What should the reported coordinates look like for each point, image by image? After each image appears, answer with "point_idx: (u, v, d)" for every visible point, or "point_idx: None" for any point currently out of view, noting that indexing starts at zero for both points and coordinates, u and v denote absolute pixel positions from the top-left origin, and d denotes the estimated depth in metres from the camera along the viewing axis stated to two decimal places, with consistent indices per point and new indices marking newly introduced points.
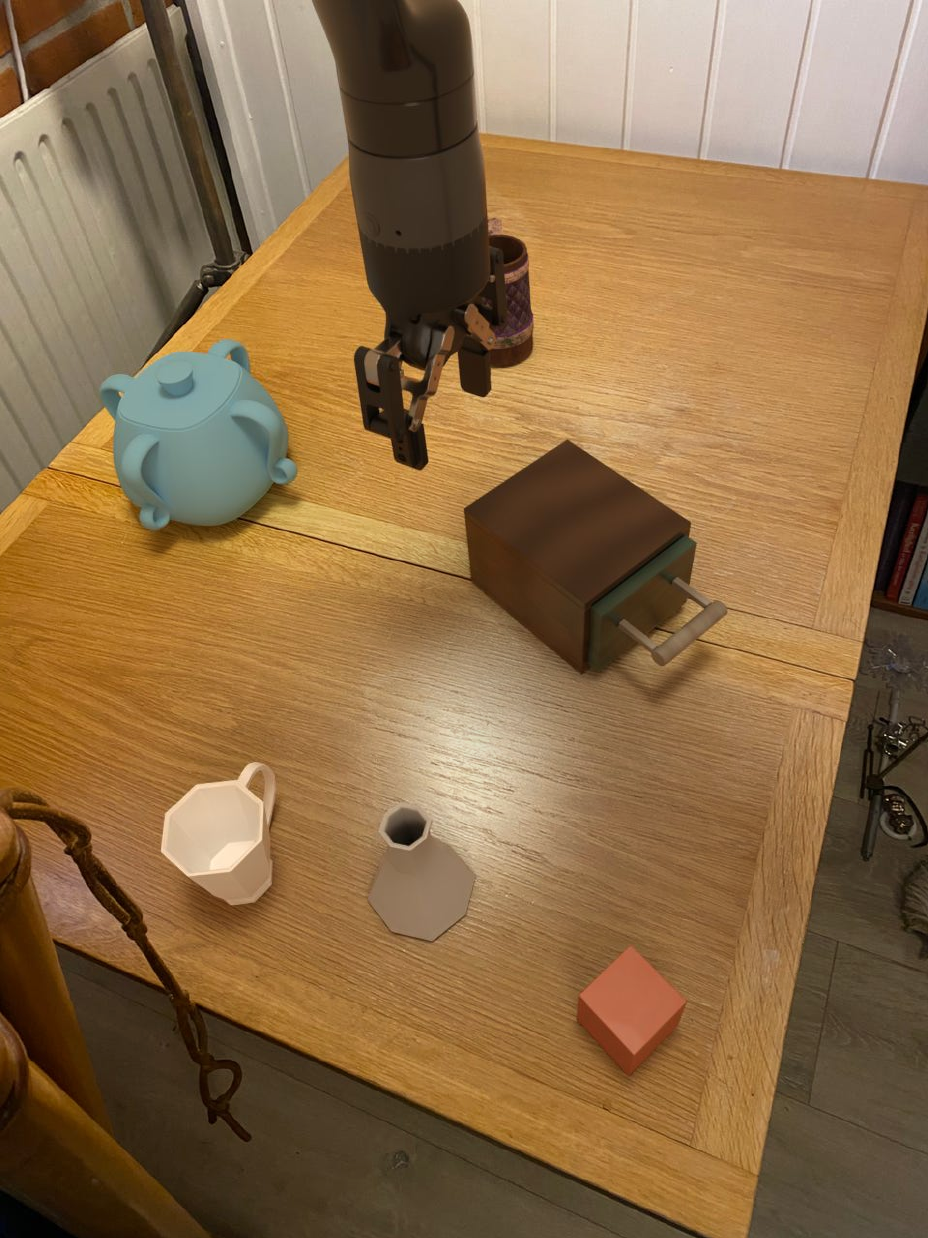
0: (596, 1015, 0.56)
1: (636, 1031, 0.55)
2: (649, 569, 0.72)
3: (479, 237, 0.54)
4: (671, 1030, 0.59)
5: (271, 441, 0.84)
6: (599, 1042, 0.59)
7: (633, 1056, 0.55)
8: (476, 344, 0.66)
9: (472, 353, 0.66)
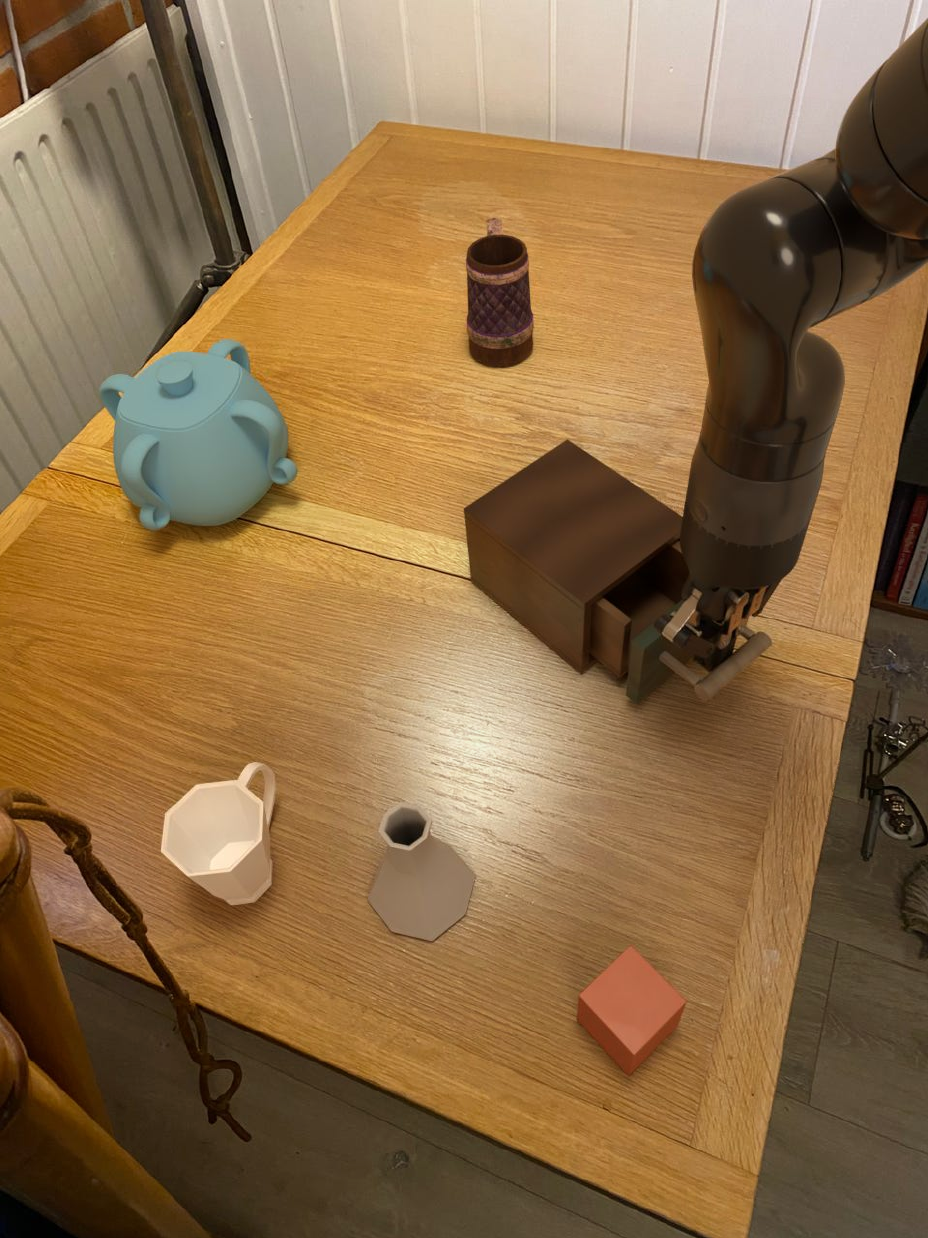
0: (596, 1015, 0.56)
1: (636, 1031, 0.55)
2: None
3: (798, 539, 0.57)
4: (671, 1030, 0.59)
5: (271, 441, 0.84)
6: (599, 1042, 0.59)
7: (633, 1056, 0.55)
8: None
9: None
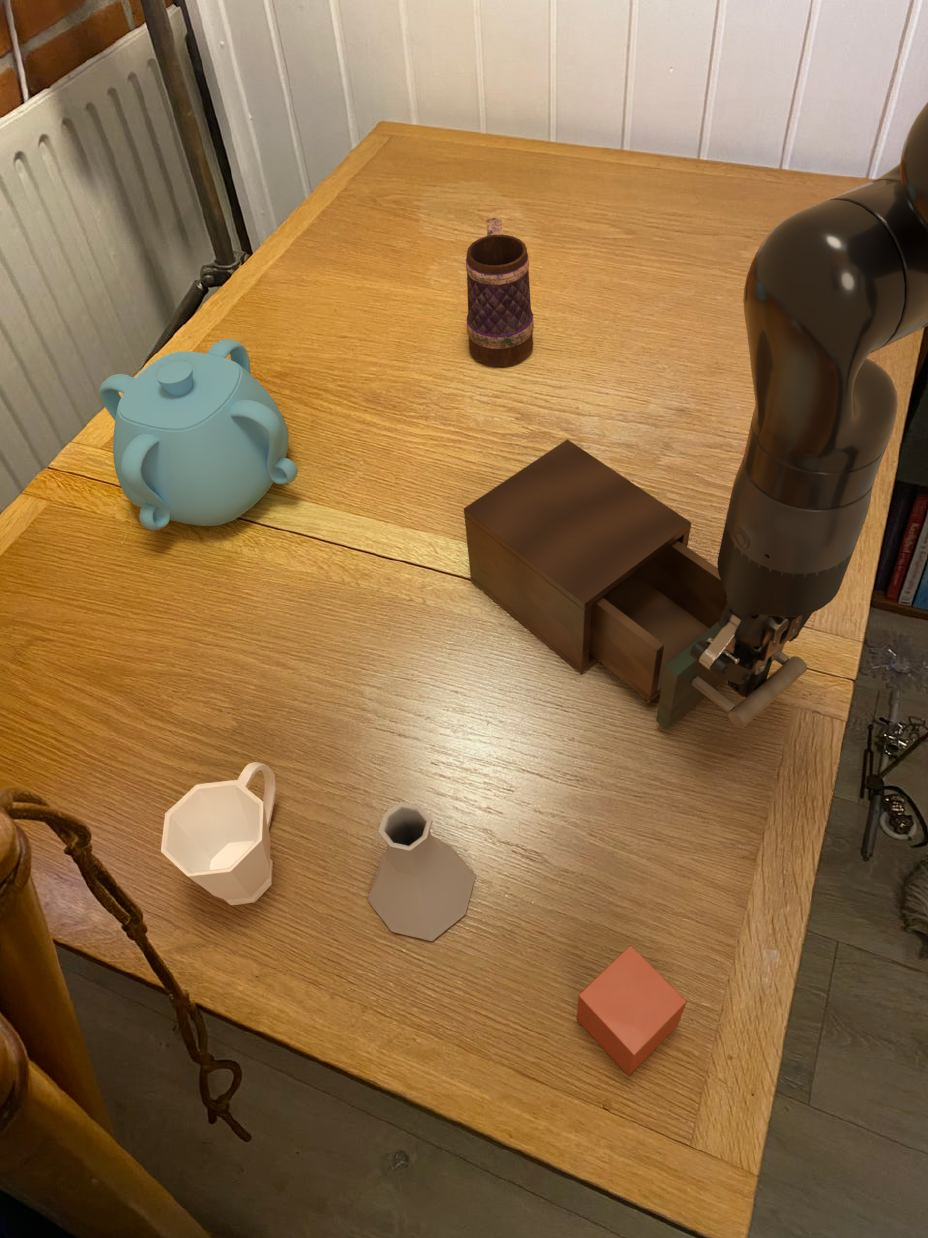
0: (596, 1015, 0.56)
1: (636, 1031, 0.55)
2: None
3: (843, 567, 0.55)
4: (671, 1030, 0.59)
5: (271, 441, 0.84)
6: (599, 1042, 0.59)
7: (633, 1056, 0.55)
8: None
9: None
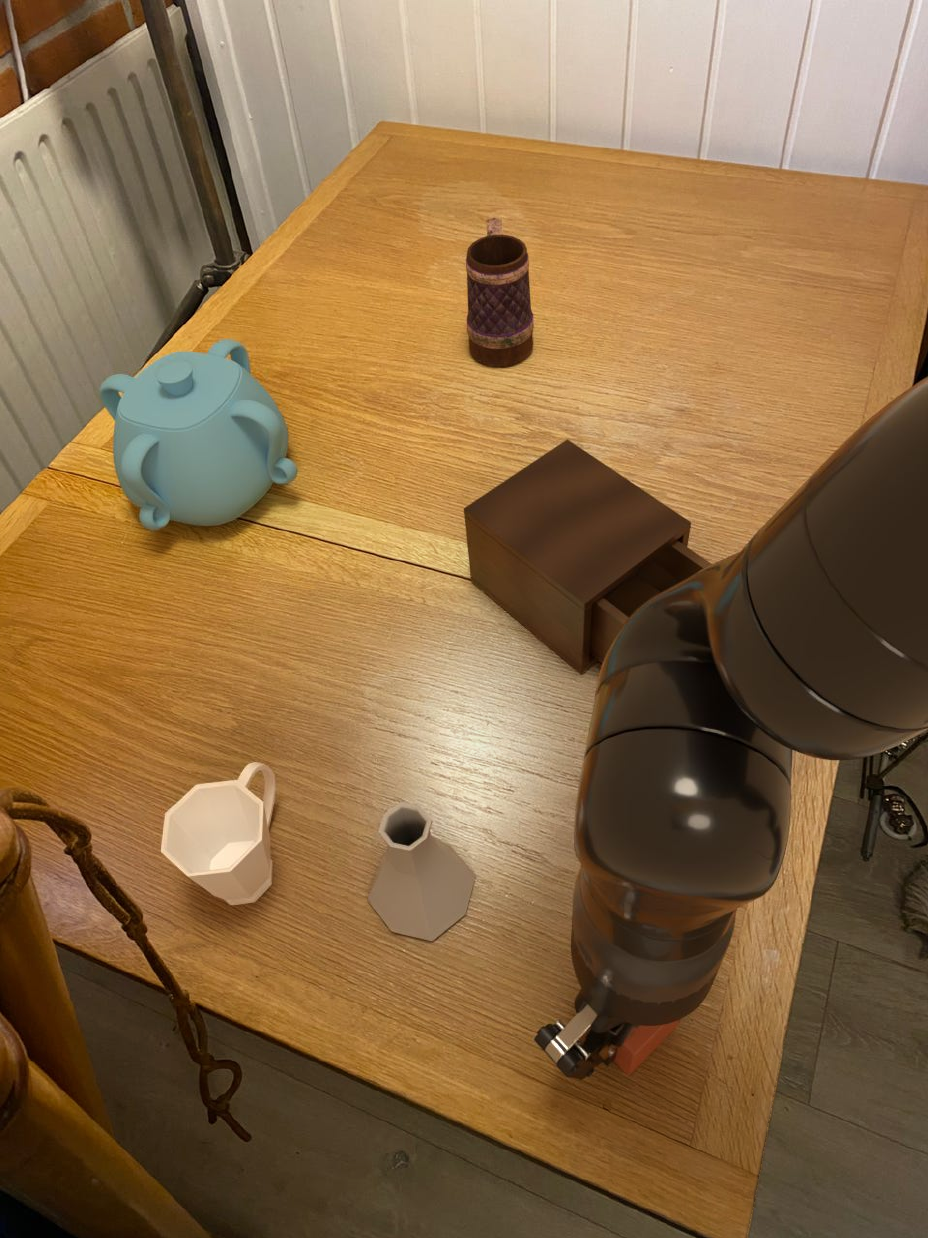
0: None
1: None
2: None
3: (707, 985, 0.45)
4: (671, 1030, 0.59)
5: (271, 441, 0.84)
6: None
7: (633, 1056, 0.55)
8: None
9: None
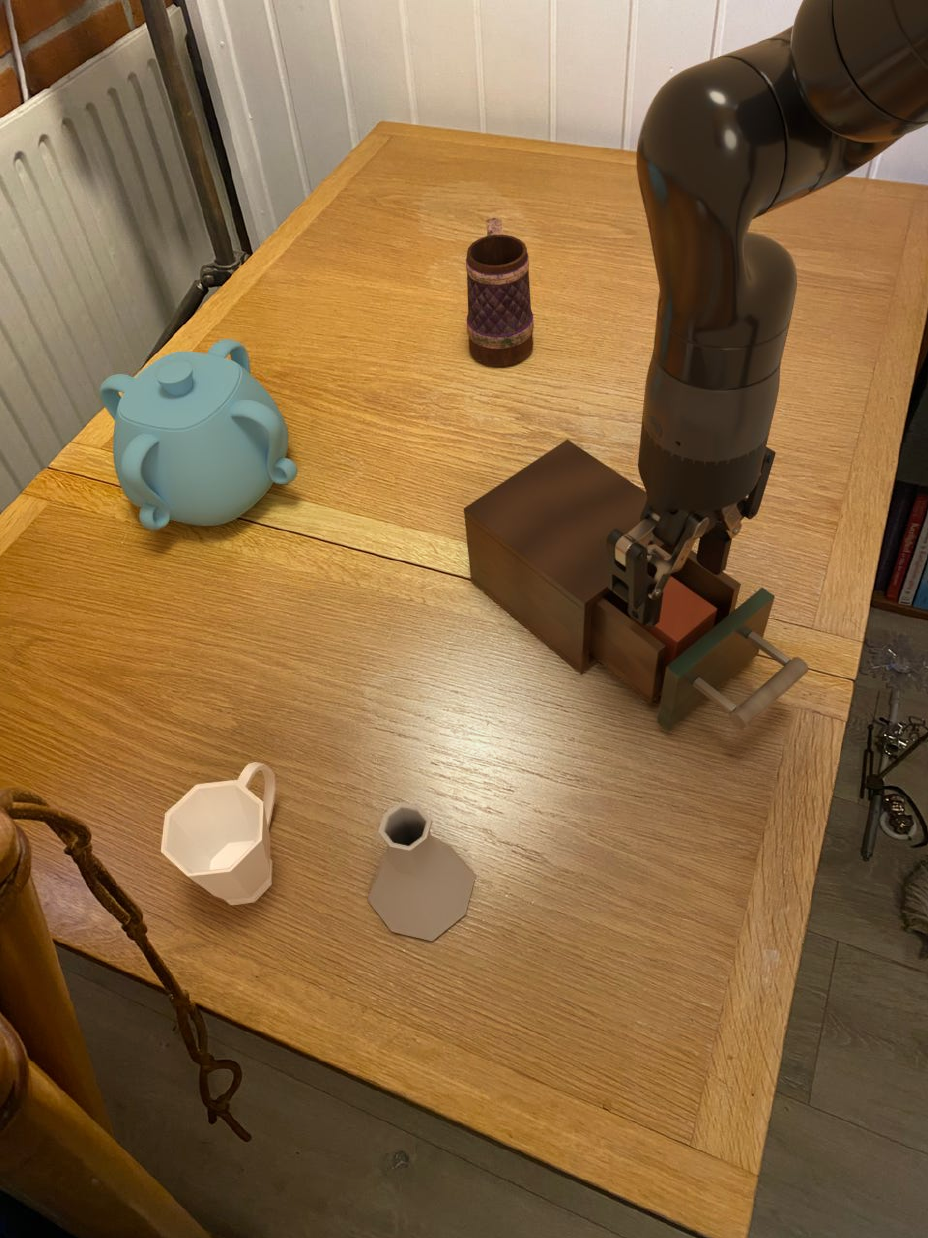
0: None
1: (678, 627, 0.70)
2: (726, 625, 0.68)
3: (755, 456, 0.56)
4: None
5: (271, 441, 0.84)
6: None
7: (676, 644, 0.70)
8: (720, 531, 0.67)
9: (714, 537, 0.68)
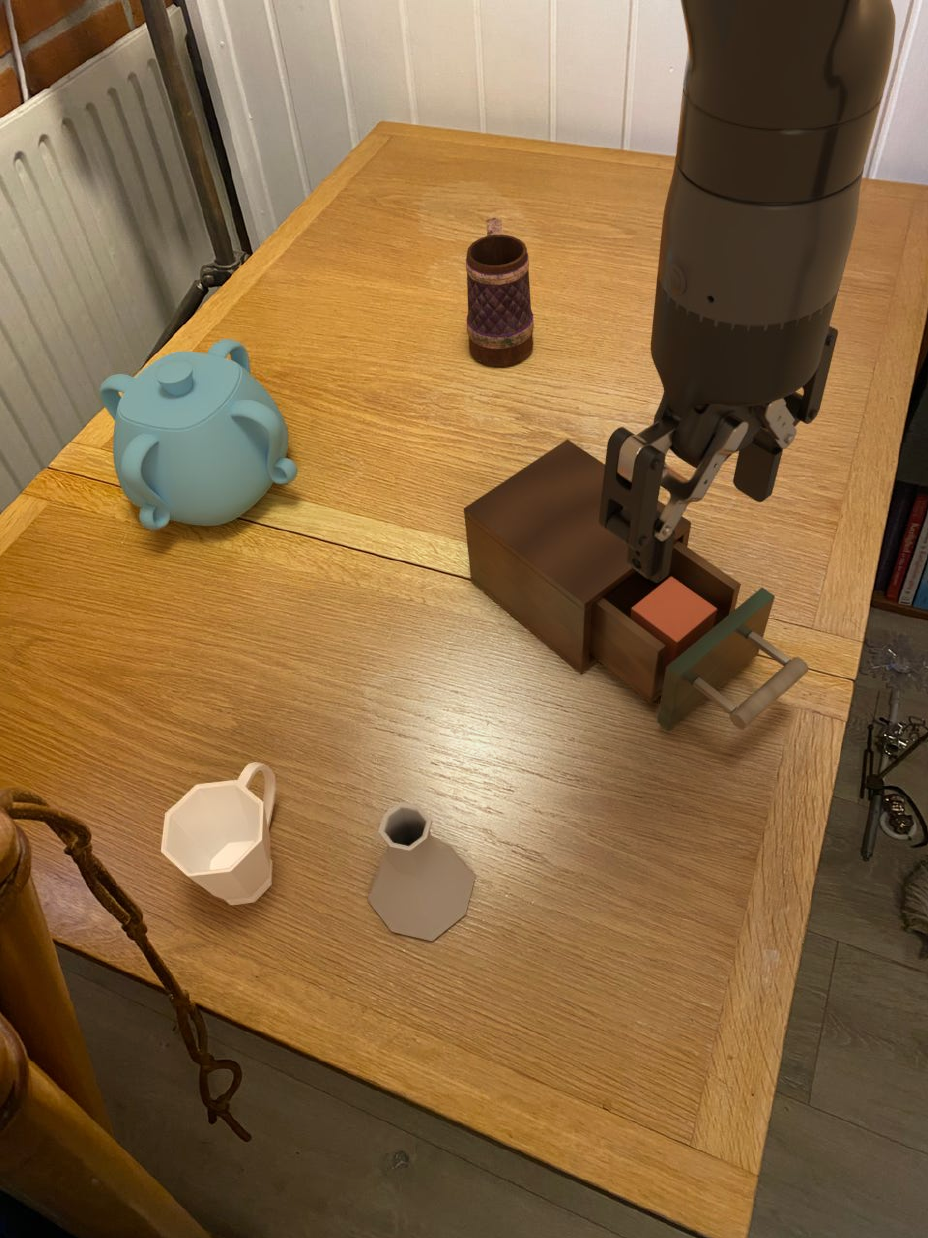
0: (646, 620, 0.71)
1: (678, 627, 0.70)
2: (726, 625, 0.68)
3: (819, 322, 0.39)
4: None
5: (271, 441, 0.84)
6: None
7: (676, 644, 0.70)
8: (768, 439, 0.51)
9: (760, 448, 0.51)
